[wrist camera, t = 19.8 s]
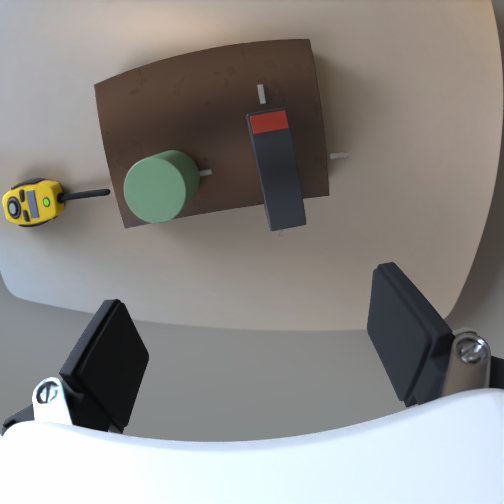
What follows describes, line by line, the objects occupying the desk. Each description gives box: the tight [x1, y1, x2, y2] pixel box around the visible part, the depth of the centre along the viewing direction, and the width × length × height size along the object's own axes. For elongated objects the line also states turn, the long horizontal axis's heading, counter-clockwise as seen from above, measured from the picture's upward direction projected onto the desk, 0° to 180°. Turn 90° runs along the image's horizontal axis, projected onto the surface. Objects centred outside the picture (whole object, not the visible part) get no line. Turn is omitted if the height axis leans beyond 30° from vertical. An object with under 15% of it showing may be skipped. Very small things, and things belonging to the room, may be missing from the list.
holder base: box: [94, 39, 348, 236], centre depth 19 cm, size 15×18×3 cm
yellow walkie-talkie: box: [3, 178, 110, 227], centre depth 20 cm, size 5×2×15 cm
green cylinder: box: [124, 150, 200, 223], centre depth 17 cm, size 4×4×4 cm
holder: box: [246, 107, 306, 231], centre depth 16 cm, size 7×2×4 cm, turn 12°
